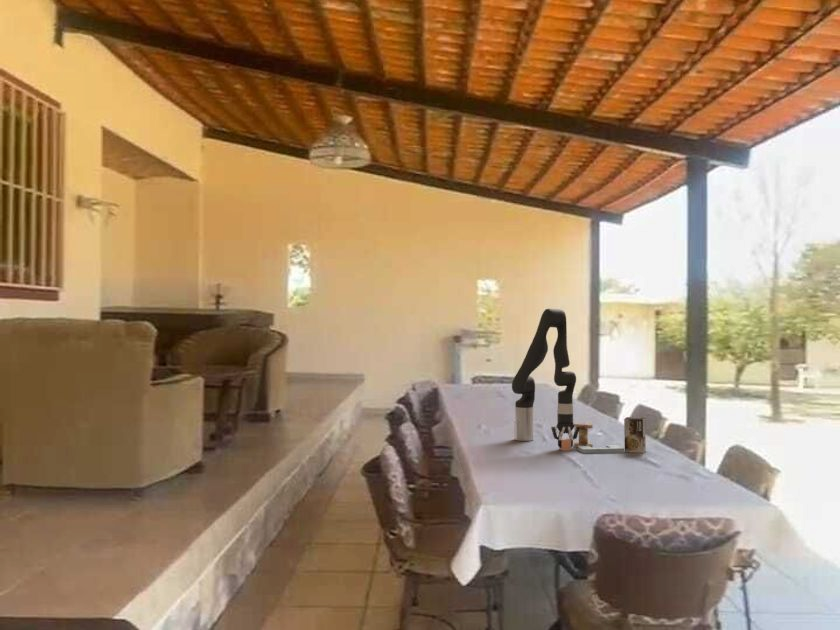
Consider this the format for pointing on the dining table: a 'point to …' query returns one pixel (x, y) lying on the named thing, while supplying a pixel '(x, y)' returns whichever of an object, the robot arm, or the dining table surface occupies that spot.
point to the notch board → (601, 449)
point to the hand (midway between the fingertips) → (565, 447)
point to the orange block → (565, 444)
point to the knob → (583, 434)
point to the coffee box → (634, 434)
